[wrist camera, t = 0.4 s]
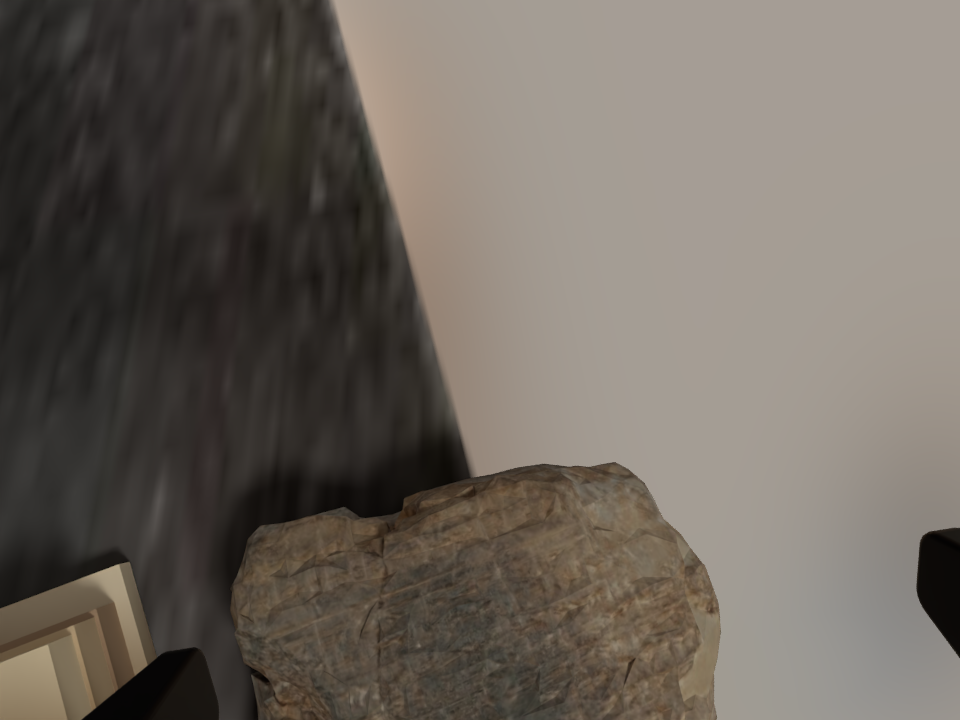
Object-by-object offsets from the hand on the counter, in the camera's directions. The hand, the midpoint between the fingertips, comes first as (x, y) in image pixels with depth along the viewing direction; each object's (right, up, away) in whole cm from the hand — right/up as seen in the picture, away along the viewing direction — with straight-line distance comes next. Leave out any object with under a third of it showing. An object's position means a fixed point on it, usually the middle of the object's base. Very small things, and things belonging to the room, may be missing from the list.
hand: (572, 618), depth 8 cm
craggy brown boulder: (0, -10, +13) cm, 17 cm away
